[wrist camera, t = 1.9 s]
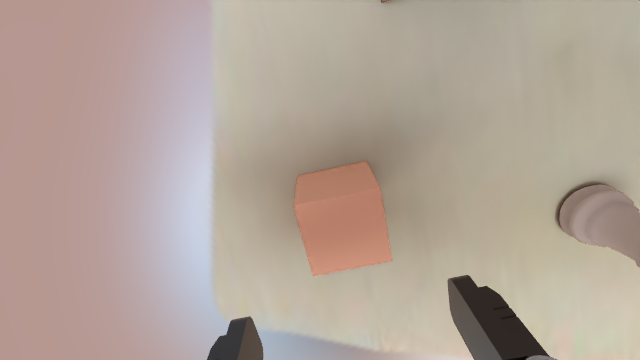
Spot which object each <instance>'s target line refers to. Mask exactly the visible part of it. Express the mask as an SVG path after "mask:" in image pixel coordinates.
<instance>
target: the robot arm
mask: <svg viewBox="0 0 640 360" xmlns="http://www.w3.org/2000/svg"><path fill="white" fill-rule="evenodd" d="M448 291H449V303H450V311H451V315H452V318H453V321H454V323H455V325H456V327H457V329H458V331H459V333H460V334H461V336H462V338H463V340H464V342H465V344H466V345H467V347H468V349H469V351H470V353H471V355H472V356H473V358H474V360H557V359H554V358H552V357H550V356H549V355H548V354H547V353H546V352H545V350H544V349H543V348H542V347H541V345H540V344H539V343H538V342H537V340H536V339H535V338H534V337H533V335H532V334H531V333H530V332H529V330H528V329H527V328H526V327H525V325H524V324H523V323H522V322H521V320H520V319H519V318H518V317H516V314H515V313H514V312H513V311H512V309H511V308H509V306H508V304H507V303H506V302H505V301H504V299H503V298H502V297H501V296H500V294H498V293H497V292H495V291H493V290H492V289H490V288H489V287H487V286H484V287H479V288H478V287H477V285H476V284H475V283H474V281H473V280H472V279H471V277H470V276H468V275H465V276H460V277H454V278H449V279H448ZM207 360H263V347H262V343H261V340H260V338H259V335H258V332H257V330H256V327H255V325H254V322H253V320H252V318H251V317H245V318H240V319H234V320H232V321H231V322H230V324H229V328H228V331H227V334H226V335H224V336H220V337H219V338H218V339H217V341H216V342H215V344H214V345H213V346H212V348H211V350H210V353H209V356H208V359H207Z"/></svg>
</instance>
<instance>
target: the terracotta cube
mask: <svg viewBox="0 0 640 360" xmlns="http://www.w3.org/2000/svg"><path fill="white" fill-rule="evenodd" d="M293 207H294V210H295V214H296V217H297V221H298V224H299V228H300V231H301V235H302V239H303V242H304V246H305V249H306V253H307V256H308V260H309V263H310V267H311V271H312V274H313V276H316V275H322V274H327V273H332V272H337V271H342V270H348V269H353V268H358V267H363V266H369V265H374V264H379V263H384V262H389V261H392V256H391V250H390V244H389V238H388V232H387V226H386V220H385V214H384V208H383V201H382V195H381V189H380V186H379V184H378V182H377V180H376V178H375V176H374V174H373V172H372V170H371V168H370V166H369V164H368V162H367V161H364V162H359V163H355V164H350V165H345V166H341V167H336V168H331V169H327V170H322V171H317V172H313V173H308V174H303V175H299V176H298V178H297V184H296V191H295V198H294V204H293Z"/></svg>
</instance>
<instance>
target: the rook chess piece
mask: <svg viewBox="0 0 640 360" xmlns="http://www.w3.org/2000/svg"><path fill="white" fill-rule="evenodd" d="M559 222H560V225H561V227H562V229H563V231H564V232H566V233H567V234H568V235H570V236H572V237H574V238H576V239H577V240H578V241H580V242H582V243H585V244H591V245H597V246H602V247H609V248H611V249H613V250H616V251H618V252H620V253H622V254H624V255H626V256H628V257H630V258H632V259H633V260H635V261H636V264H637V266H638V267H640V212H639V209H637V208H636V207H635V206H634V203H633V201H632V200H630V199H629V198H628V197H627V196H626V195H625V194H623V193H622V192H618V191H616V190H615V189H614V188H613V187H611V186H607V185H602V184H599V185H593V186H588V187H584V188H581V189H579V190H577V191H575V192H573V193H572V194H571V195H570V196H569V197H568V198H567V199H566V200H565V201H564V203H563V205H562V207H561V208H560V216H559Z"/></svg>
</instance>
